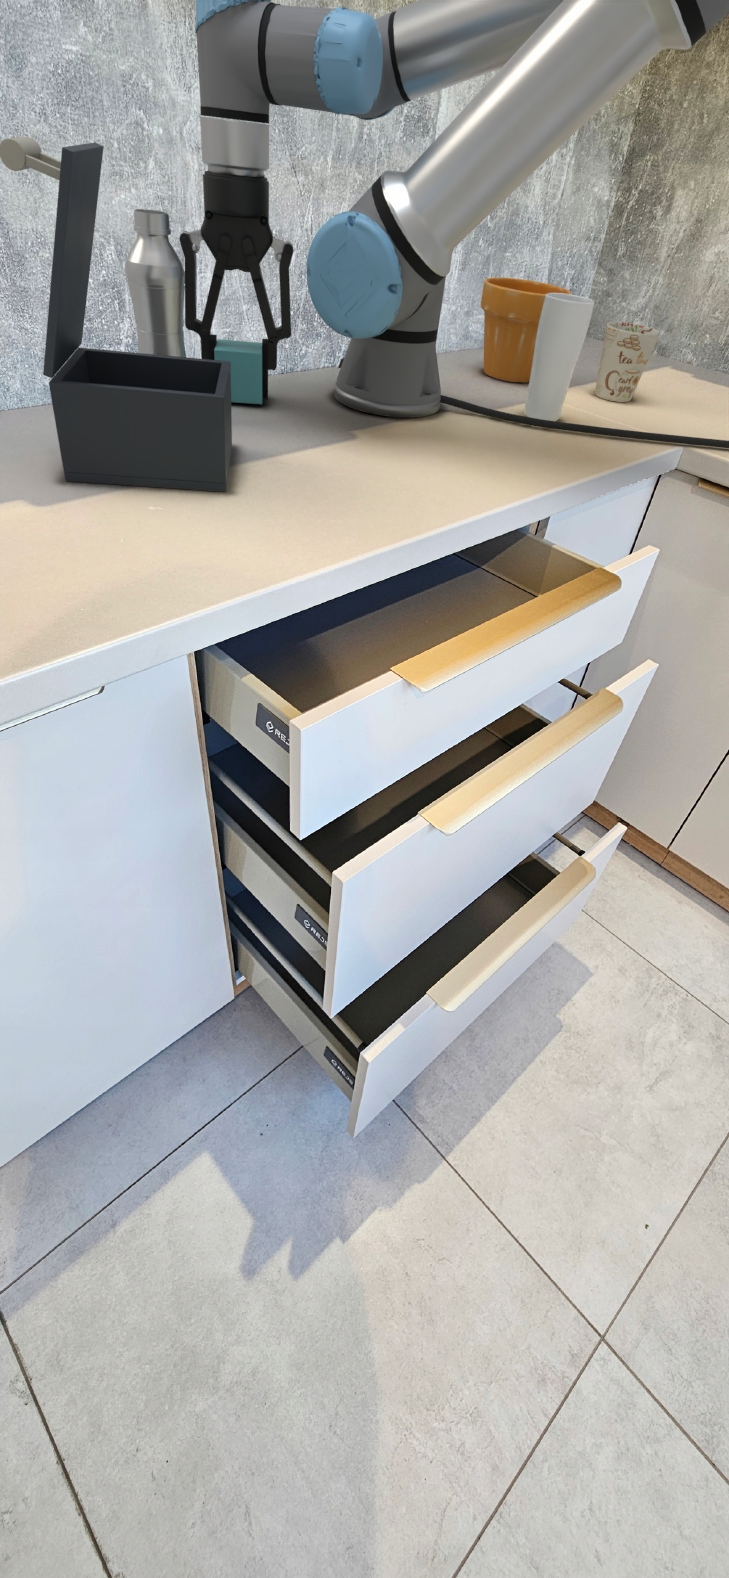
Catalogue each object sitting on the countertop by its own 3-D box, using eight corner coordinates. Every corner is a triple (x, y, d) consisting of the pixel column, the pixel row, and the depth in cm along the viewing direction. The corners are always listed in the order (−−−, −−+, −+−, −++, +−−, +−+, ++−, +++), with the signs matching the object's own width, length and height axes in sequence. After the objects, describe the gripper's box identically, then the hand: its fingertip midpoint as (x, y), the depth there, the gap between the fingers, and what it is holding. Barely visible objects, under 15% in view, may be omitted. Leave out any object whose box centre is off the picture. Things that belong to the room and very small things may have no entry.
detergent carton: (262, 392, 102) (262, 342, 98) (262, 404, 97) (262, 353, 93) (219, 389, 101) (217, 339, 97) (216, 401, 96) (214, 349, 92)
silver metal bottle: (182, 423, 89) (169, 218, 76) (129, 414, 90) (108, 209, 77) (201, 410, 94) (192, 214, 81) (151, 401, 95) (134, 205, 81)
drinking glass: (514, 418, 106) (541, 296, 96) (522, 407, 111) (549, 290, 101) (559, 428, 105) (592, 305, 95) (566, 417, 110) (598, 299, 100)
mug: (584, 397, 120) (603, 326, 113) (595, 382, 129) (613, 316, 122) (634, 407, 118) (657, 336, 112) (642, 391, 127) (664, 325, 121)
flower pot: (551, 374, 130) (572, 287, 122) (548, 392, 120) (571, 299, 111) (473, 360, 132) (489, 273, 123) (463, 378, 121) (480, 284, 113)
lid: (103, 146, 67) (31, 113, 65) (72, 152, 56) (-15, 112, 55) (81, 344, 77) (18, 320, 75) (52, 378, 67) (-22, 352, 65)
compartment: (232, 447, 85) (230, 361, 79) (226, 492, 75) (223, 397, 69) (90, 436, 83) (78, 347, 77) (65, 481, 73) (48, 382, 67)
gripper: (317, 179, 87) (309, 392, 103) (154, 160, 85) (171, 381, 100) (320, 183, 82) (311, 407, 97) (146, 163, 79) (165, 396, 95)
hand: (240, 393), depth 99 cm, fingers closed on detergent carton, 6 cm apart
